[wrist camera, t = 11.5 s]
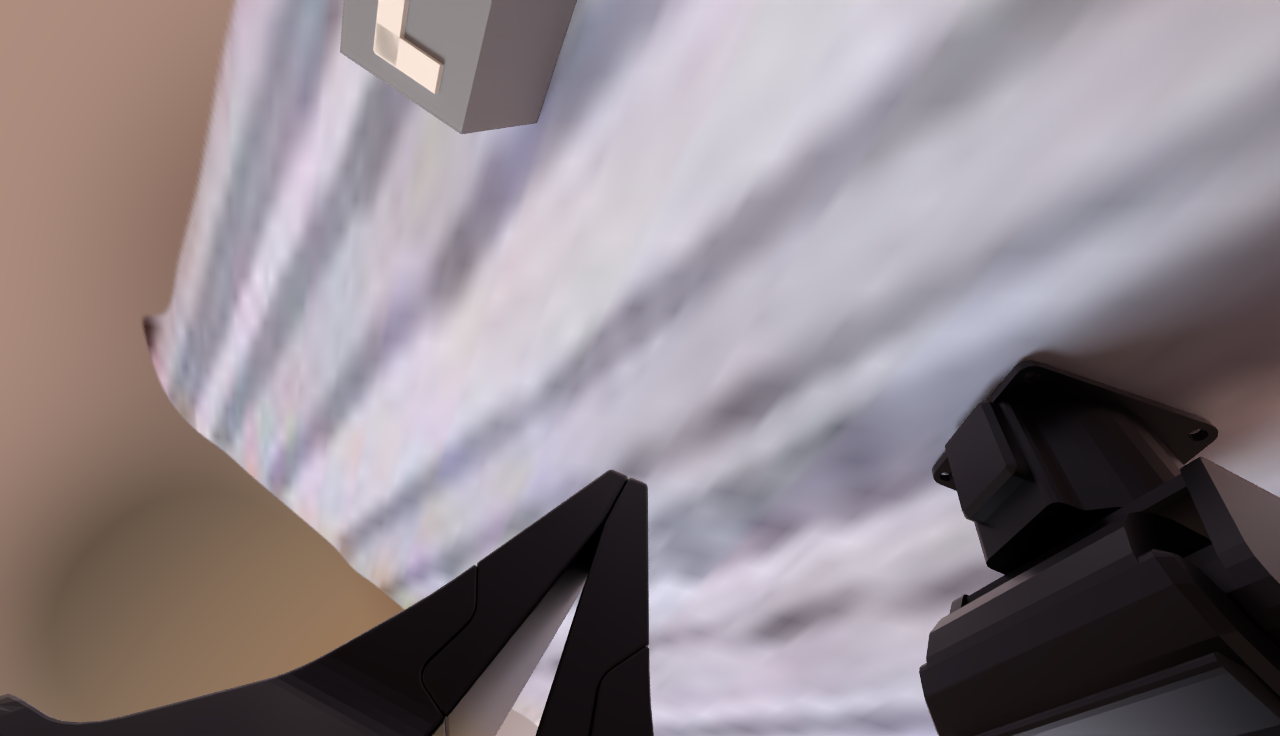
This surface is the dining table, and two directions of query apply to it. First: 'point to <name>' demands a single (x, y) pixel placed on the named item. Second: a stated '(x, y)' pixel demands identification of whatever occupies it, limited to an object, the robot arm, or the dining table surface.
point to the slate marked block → (461, 54)
